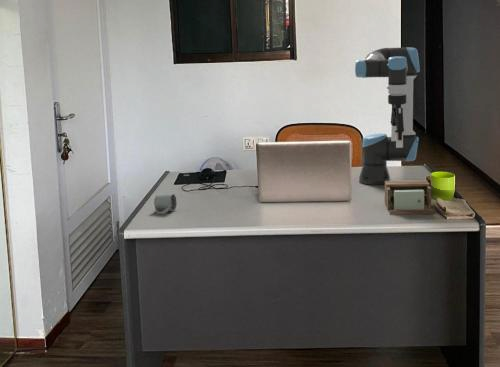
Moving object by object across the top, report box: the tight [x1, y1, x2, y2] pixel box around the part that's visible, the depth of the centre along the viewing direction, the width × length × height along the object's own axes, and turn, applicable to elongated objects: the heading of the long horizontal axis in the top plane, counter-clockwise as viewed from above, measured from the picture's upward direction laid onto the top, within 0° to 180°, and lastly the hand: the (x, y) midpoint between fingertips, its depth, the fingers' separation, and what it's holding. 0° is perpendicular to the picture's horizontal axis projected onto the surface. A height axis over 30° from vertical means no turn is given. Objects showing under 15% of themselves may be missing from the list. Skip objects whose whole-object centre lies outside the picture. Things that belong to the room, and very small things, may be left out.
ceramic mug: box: [153, 193, 178, 215], centre depth 335 cm, size 11×8×8 cm
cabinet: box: [384, 179, 435, 215], centre depth 326 cm, size 18×18×10 cm
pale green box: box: [394, 190, 424, 210], centre depth 320 cm, size 4×12×9 cm, turn 87°
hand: (397, 144), depth 326 cm, fingers open, 13 cm apart
